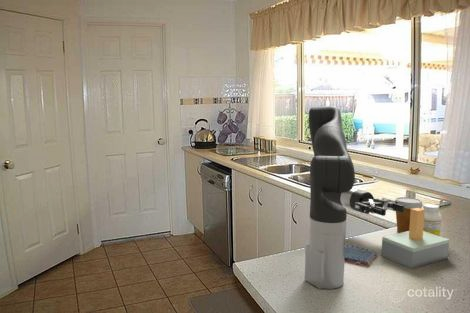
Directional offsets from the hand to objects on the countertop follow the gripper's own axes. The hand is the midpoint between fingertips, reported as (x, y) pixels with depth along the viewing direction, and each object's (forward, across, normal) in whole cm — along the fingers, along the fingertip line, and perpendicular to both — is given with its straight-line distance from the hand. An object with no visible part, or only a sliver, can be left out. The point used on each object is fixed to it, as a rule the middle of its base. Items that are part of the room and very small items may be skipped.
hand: (394, 210), depth 124 cm
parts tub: (+8, 0, +12) cm, 15 cm away
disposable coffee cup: (-9, +18, +13) cm, 24 cm away
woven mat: (0, -16, +13) cm, 21 cm away
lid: (+8, 0, +9) cm, 12 cm away
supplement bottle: (+2, +15, +13) cm, 20 cm away
